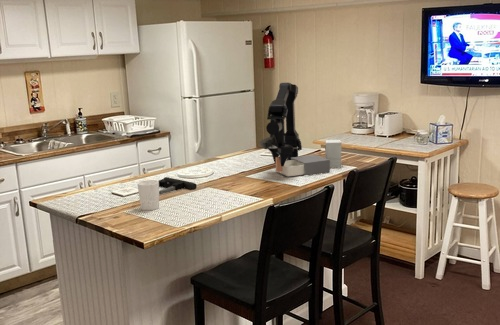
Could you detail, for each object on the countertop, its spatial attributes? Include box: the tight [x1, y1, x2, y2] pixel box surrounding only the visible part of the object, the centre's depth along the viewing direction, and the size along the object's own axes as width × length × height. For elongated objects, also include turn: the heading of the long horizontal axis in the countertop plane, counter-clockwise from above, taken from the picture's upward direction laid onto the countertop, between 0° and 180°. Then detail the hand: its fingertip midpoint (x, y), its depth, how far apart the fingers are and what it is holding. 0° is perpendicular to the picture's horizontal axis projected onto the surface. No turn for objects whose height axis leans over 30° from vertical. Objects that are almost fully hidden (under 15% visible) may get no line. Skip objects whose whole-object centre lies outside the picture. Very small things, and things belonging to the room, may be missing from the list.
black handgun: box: [158, 176, 197, 195], centre depth 223 cm, size 3×20×16 cm
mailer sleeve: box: [291, 154, 331, 176], centre depth 245 cm, size 14×13×6 cm
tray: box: [275, 156, 305, 177], centre depth 241 cm, size 12×15×8 cm
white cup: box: [137, 179, 160, 211], centre depth 196 cm, size 8×8×10 cm
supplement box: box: [324, 139, 342, 169], centre depth 253 cm, size 7×7×13 cm
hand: (279, 164), depth 239 cm, fingers open, 6 cm apart
